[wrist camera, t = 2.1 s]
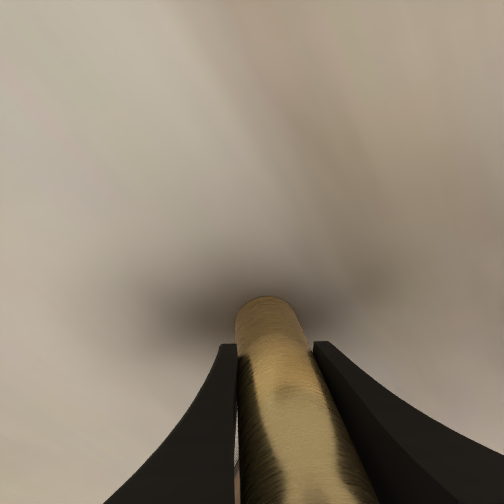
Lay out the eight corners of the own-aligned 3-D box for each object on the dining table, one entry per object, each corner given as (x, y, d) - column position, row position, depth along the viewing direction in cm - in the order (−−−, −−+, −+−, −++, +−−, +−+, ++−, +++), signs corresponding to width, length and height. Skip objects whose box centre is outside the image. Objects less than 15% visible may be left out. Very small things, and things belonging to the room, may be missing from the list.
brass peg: (306, 307, 14) (427, 528, 5) (281, 357, 15) (353, 619, 6) (248, 288, 13) (280, 502, 5) (226, 341, 14) (219, 606, 6)
